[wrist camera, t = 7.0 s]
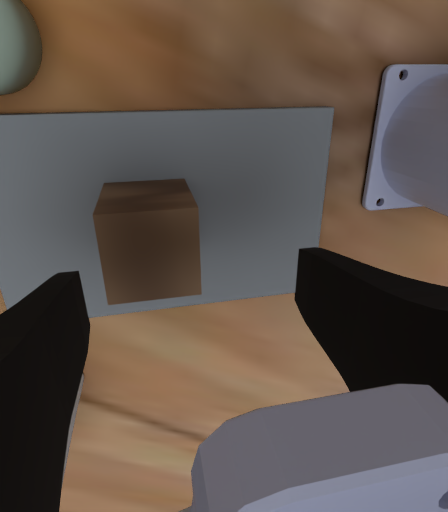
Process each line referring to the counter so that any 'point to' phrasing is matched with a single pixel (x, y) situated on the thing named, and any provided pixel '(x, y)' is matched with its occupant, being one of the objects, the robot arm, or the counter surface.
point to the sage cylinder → (18, 46)
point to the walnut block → (148, 240)
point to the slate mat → (161, 168)
